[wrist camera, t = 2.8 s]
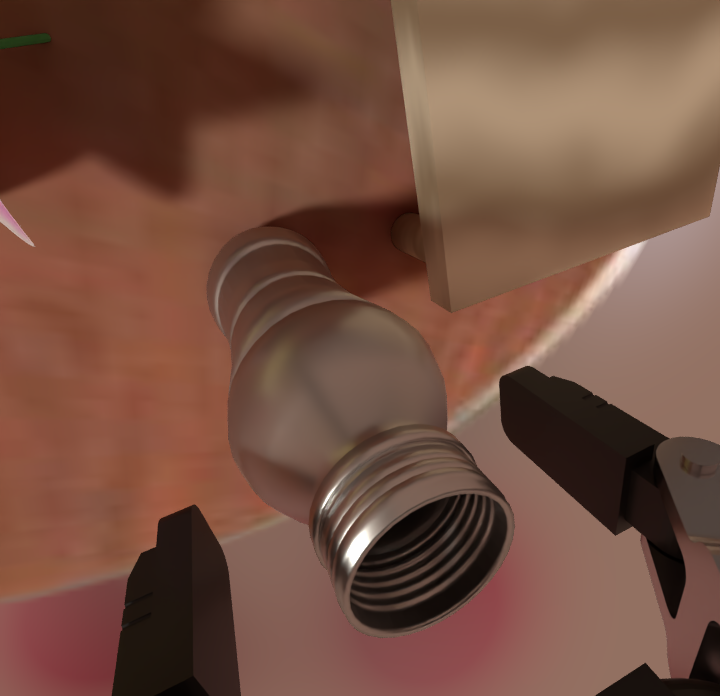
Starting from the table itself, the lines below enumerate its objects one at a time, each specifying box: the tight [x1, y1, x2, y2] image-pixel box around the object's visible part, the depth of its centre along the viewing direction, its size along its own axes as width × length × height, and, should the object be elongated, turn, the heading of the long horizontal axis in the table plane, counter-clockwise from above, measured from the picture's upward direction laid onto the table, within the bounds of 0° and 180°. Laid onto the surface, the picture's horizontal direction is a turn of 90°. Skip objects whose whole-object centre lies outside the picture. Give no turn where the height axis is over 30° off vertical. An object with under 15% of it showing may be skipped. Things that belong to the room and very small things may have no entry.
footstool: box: [391, 0, 720, 313], centre depth 20 cm, size 22×17×8 cm
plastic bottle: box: [207, 227, 515, 638], centre depth 16 cm, size 6×7×20 cm
